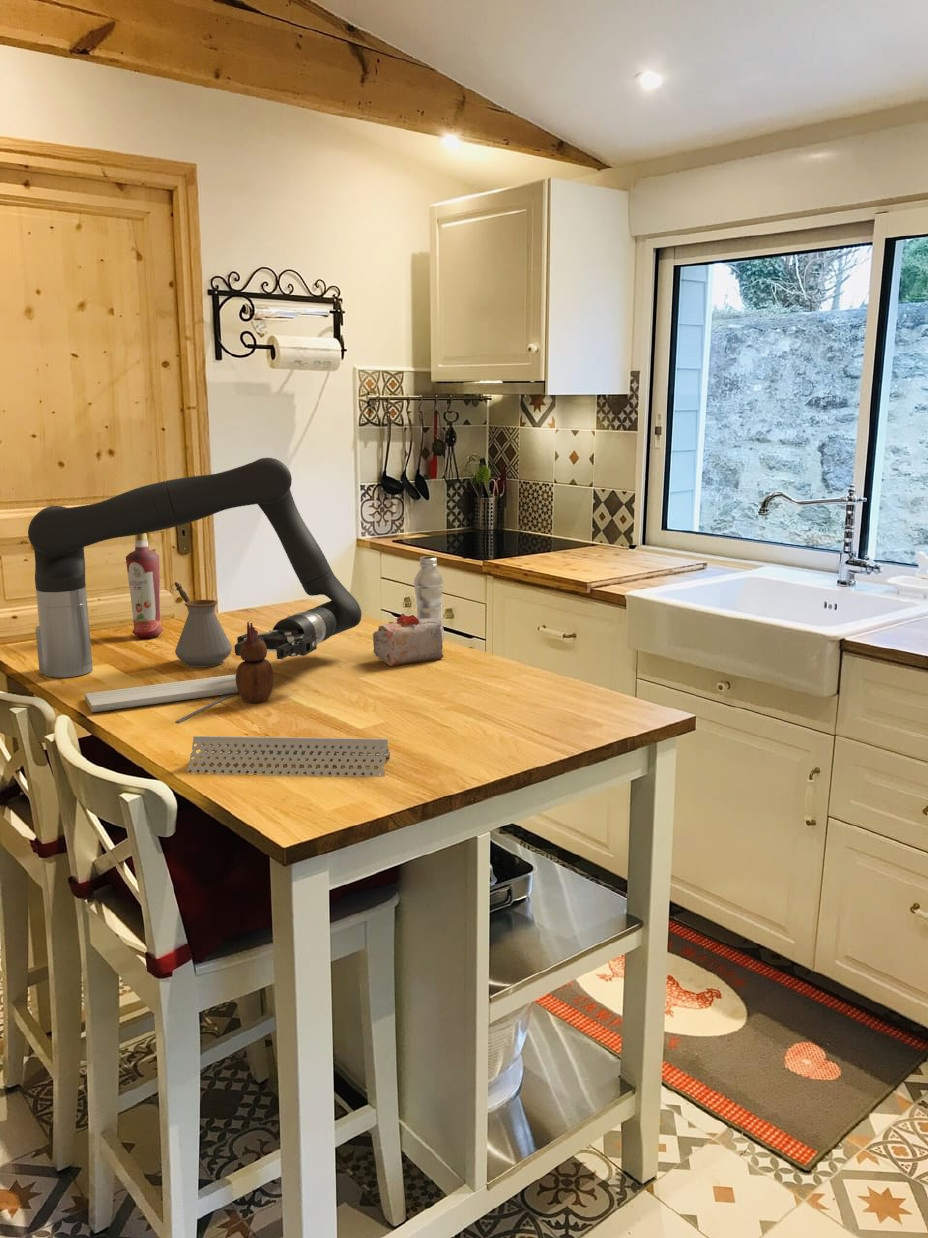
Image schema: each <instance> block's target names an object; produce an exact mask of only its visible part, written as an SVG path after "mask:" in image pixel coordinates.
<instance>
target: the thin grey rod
mask: <svg viewBox="0 0 928 1238" xmlns="http://www.w3.org/2000/svg"><path fill="white" fill-rule="evenodd" d="M236 694H238V693H231V694H225V695H224V696H223V697H221V698H219V699H217V700H215V701H213V702H211V703H209V704H207V705H205V706H203V707H201V708H199V709H197V710H195V711H193V712H191V713H189V714H188V715H185V716H183V717H181V718H180V719H178V720H177V719H176V720H175V723H176V722H180V723H182V722H185V721H186V720H188V719H190V718H192V717H194V716H196V715H198V714H200V713H202V712H204V711H206V710H208V709H210V708H212V707H213V706H215V705H217V704H219V703H221V702H223V701H225V700H227V699H230V698H231V697H233V696H235V695H236ZM207 708H208V709H207ZM205 709H206V710H205ZM203 710H204V711H203ZM201 711H202V712H201ZM199 712H200V713H199ZM197 713H198V714H197ZM195 714H196V715H195ZM193 715H194V716H193ZM191 716H192V717H191ZM189 717H190V718H189ZM185 719H186V720H185ZM181 721H182V722H181Z"/></svg>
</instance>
